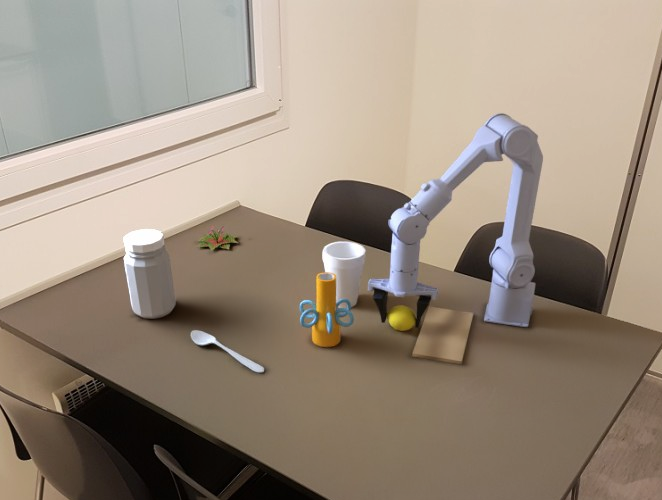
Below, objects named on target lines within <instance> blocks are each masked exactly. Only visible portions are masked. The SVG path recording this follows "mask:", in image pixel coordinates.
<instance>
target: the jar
mask: <svg viewBox="0 0 662 500" xmlns="http://www.w3.org/2000/svg"><path fill="white" fill-rule="evenodd" d="M123 243H124V247H125V253H126V254H125V255H124V257H123V264H124V269H125V276H126V282H127V287H128V293H129V298H130V299H129V300H130V304H131V309H132V312H133V313H134V314H135V315H137V316H139V317H140V318H143V319H151V320H152V319H160V318H163V317H165V316H168V315H169V314H171V312H172V311H173V309H174V308H175V307H176V305H177V303H176V296H175V295H176V294H175V288H174V287H175V286H174V279H173V271H172V264H171V256H170V254H169V252H168V250H167V249H166V246H165V235H164V234H163V232H162V231H159V230H156V229H151V228H149V229H148V228H144V229H137V230H134V231H131V232H129V233H127V234H126V235H125V236H124V237H123Z"/></svg>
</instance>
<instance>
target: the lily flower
mask: <svg viewBox="0 0 662 500" xmlns="http://www.w3.org/2000/svg"><path fill="white" fill-rule="evenodd" d="M213 229H214V230H213ZM224 230H225V228H224V226H222V227H221V229H220V230H219V229H217V232H216V230H215V227H214V226H213V225H212V227H210V231H208V233H206V235H205V236H203V237H201V238H200V239H197V240H196V241H197V242H198V241H201V242H200V243H199V244H198V245H197V246H196V248H203V247H208V248H209V249H210V251H211V252H212V251H213V250H214V249H217V248H220V249H221V248H222V249H225V250H226V249H227V250H230V247H231V245H230V243H233V244H234V243H235V244H239V242H238V241H237V240H236V238H237V237H238V235H232V234H231V235H229V234H228V235H227V234H226V233H224ZM211 232H212V233H211Z"/></svg>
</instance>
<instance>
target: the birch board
mask: <svg viewBox="0 0 662 500" xmlns="http://www.w3.org/2000/svg"><path fill="white" fill-rule="evenodd" d="M473 318H474V312H469V311H461V310H455V309H448V308H442V307H441V308H440V307H436V306H435V307H434V306H428V307H427V311H426V314H425V316H424V319H423V322H422V325H421V328H420V329H419V333H418V336H417V339H416V342H415V345H414V347H413V350H412V353H411V354H412V355H411V356H412V357H413V358H418V359H426V360H430V361H431V360H432V361H438V362H443V363H450V364H456V365H463V360H464V356H465V352H466V347H467V344H468V339H469V334H470V331H471V327H472V324H473V323H472V322H473Z"/></svg>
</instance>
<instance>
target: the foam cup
mask: <svg viewBox="0 0 662 500" xmlns="http://www.w3.org/2000/svg"><path fill="white" fill-rule="evenodd" d="M366 251H367V250H366V248H365V247H364V246H363V245H361V244H360V243H357V242H353V241H334V242H331V243H328V244H327V245H325V246H323V249H322V261H323V265H324V266H323V267H324V272H330V273H334V274H335V275H336V303H337V302H338V301H339V300H341V299H348V300H349V301H350V303H351V308H353V307H355V306H356V305H357V303H358V299H359V292H360V288H361V287H360V286H361V281H362V276H363V269H364V264H365V262H366V253H367V252H366ZM339 308H346V309H347V303H346V302H343V303H341V304H340V305H339V306H338V308H337V309H339Z"/></svg>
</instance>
